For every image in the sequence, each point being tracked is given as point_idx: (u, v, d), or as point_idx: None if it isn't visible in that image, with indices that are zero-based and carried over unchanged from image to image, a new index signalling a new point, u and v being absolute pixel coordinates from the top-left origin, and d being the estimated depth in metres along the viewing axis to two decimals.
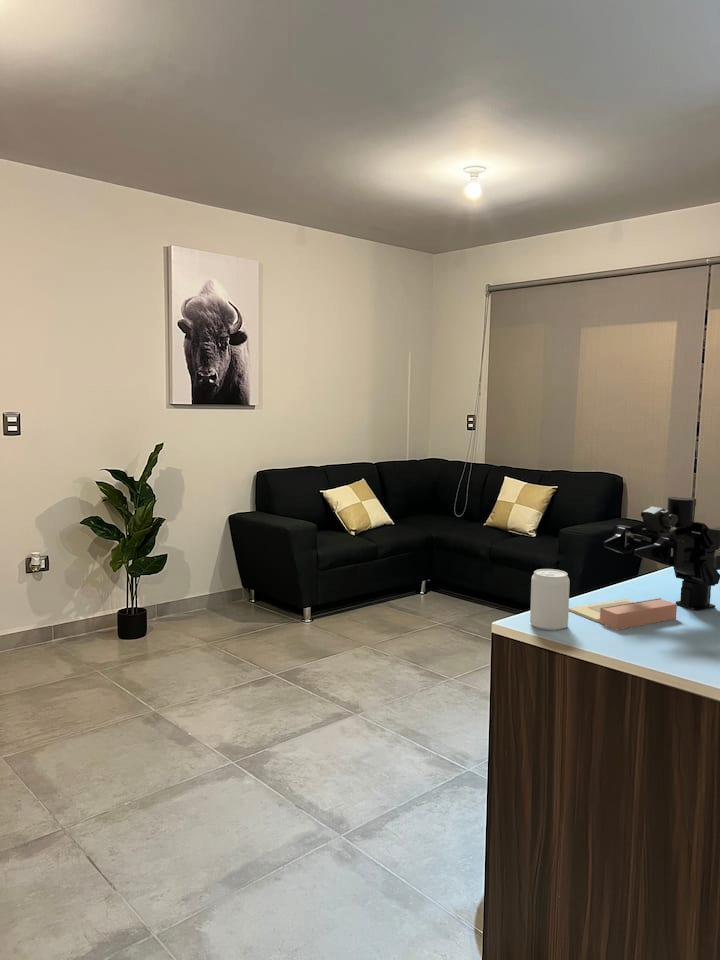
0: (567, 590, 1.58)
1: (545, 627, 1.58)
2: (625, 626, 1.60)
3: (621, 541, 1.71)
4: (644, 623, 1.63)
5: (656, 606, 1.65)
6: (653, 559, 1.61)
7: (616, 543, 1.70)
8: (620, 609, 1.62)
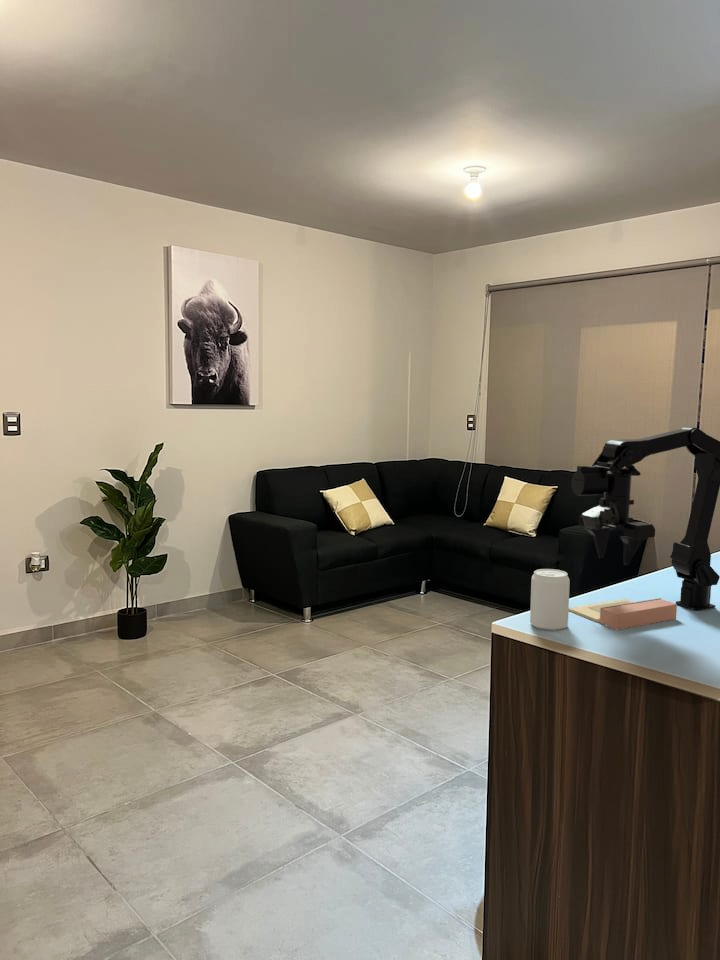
0: (567, 590, 1.58)
1: (545, 627, 1.58)
2: (625, 626, 1.60)
3: (600, 534, 1.74)
4: (644, 623, 1.63)
5: (656, 606, 1.65)
6: (637, 547, 1.66)
7: (602, 541, 1.74)
8: (620, 609, 1.62)
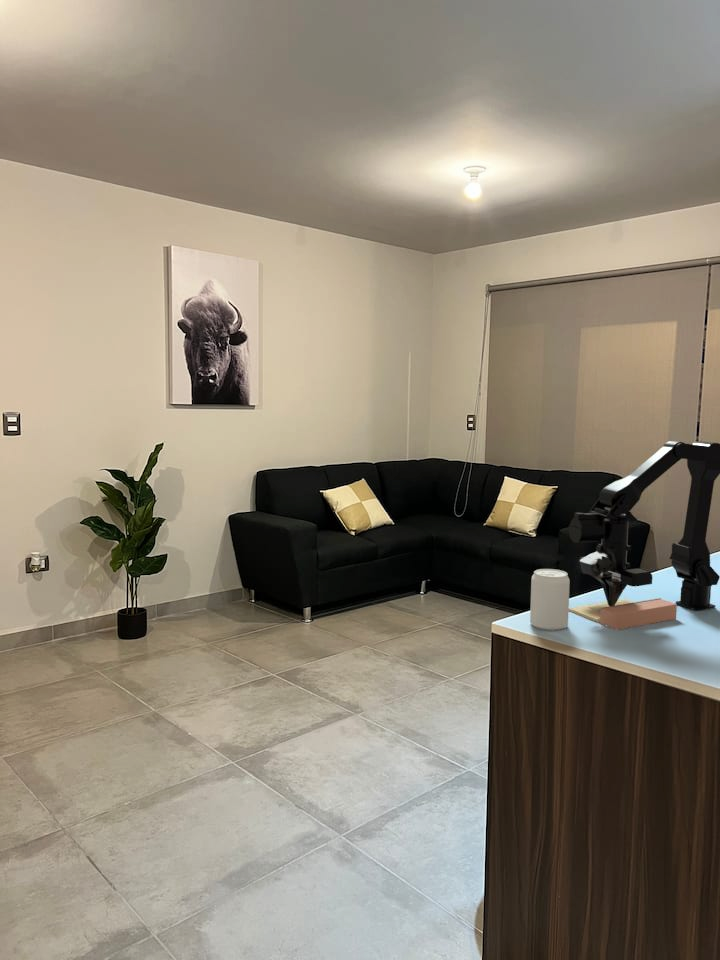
0: (567, 590, 1.58)
1: (545, 627, 1.58)
2: (625, 626, 1.60)
3: None
4: (644, 623, 1.63)
5: (656, 606, 1.65)
6: (622, 589, 1.71)
7: None
8: (620, 609, 1.62)
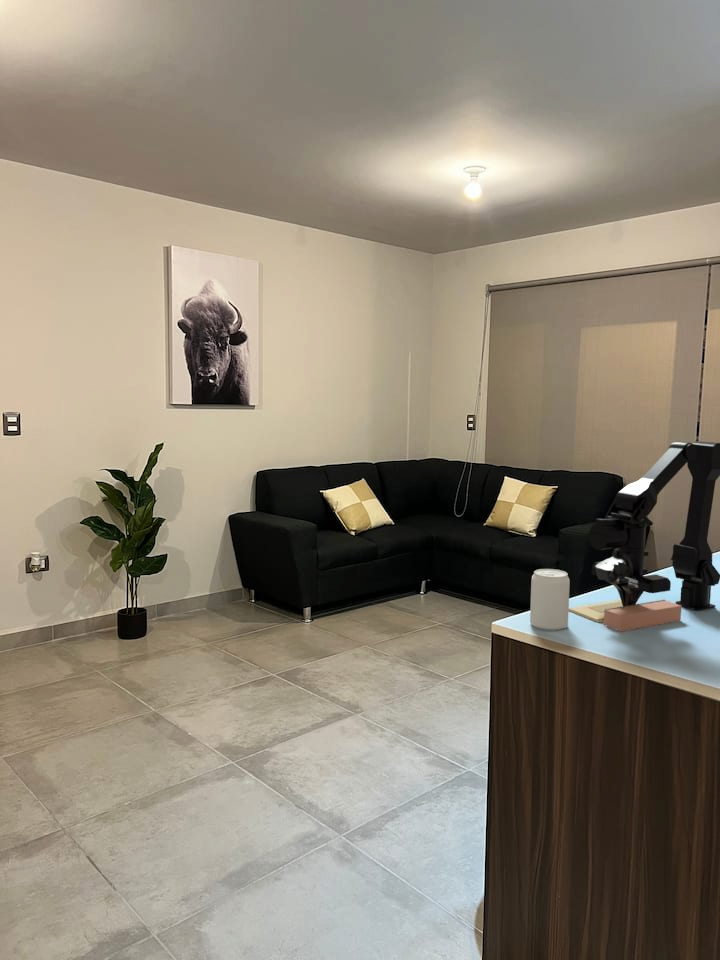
0: (567, 590, 1.58)
1: (545, 627, 1.58)
2: (629, 628, 1.59)
3: None
4: (648, 625, 1.62)
5: (661, 607, 1.64)
6: (639, 596, 1.66)
7: None
8: (624, 611, 1.61)
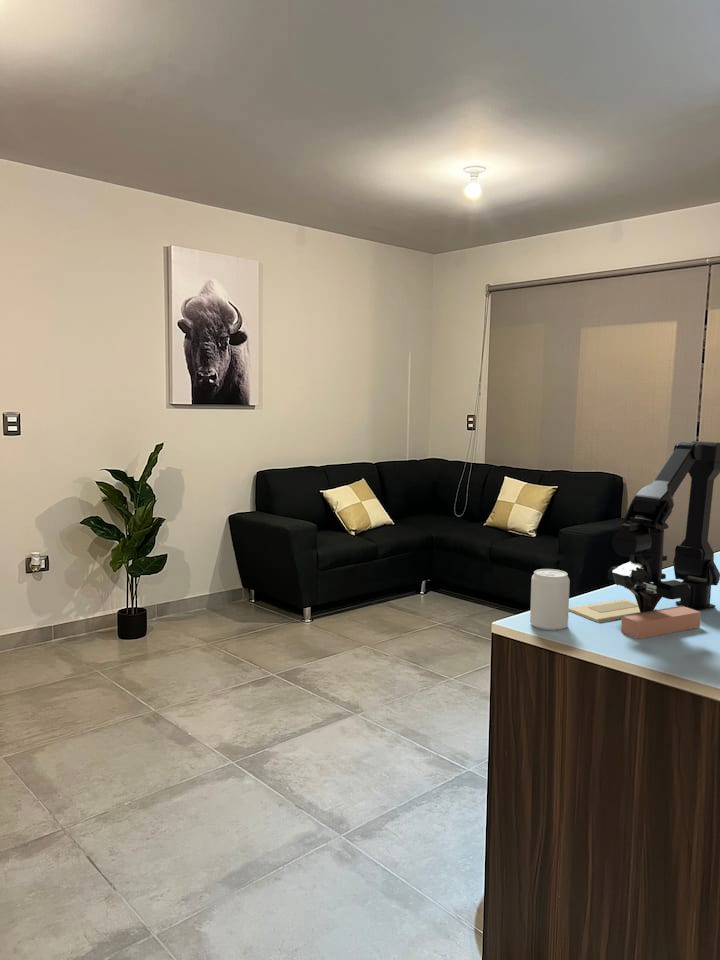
0: (567, 590, 1.58)
1: (545, 627, 1.58)
2: (648, 635, 1.55)
3: None
4: (667, 632, 1.57)
5: (680, 614, 1.59)
6: (657, 602, 1.61)
7: None
8: (642, 617, 1.56)
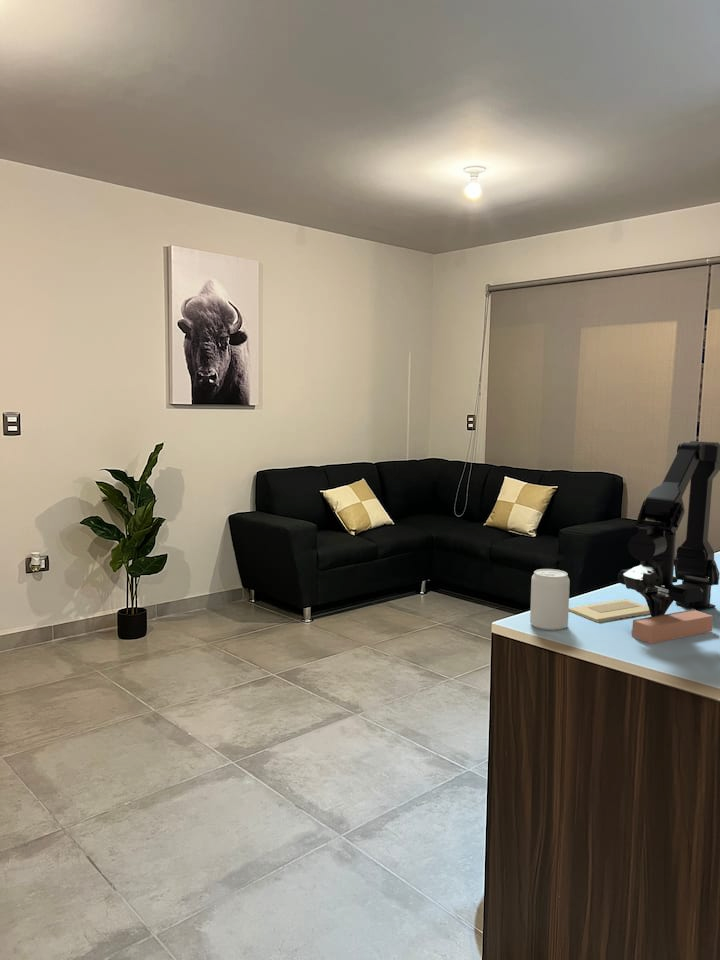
0: (567, 590, 1.58)
1: (545, 627, 1.58)
2: (659, 639, 1.52)
3: None
4: (679, 636, 1.54)
5: (691, 618, 1.56)
6: (668, 606, 1.59)
7: None
8: (654, 622, 1.54)
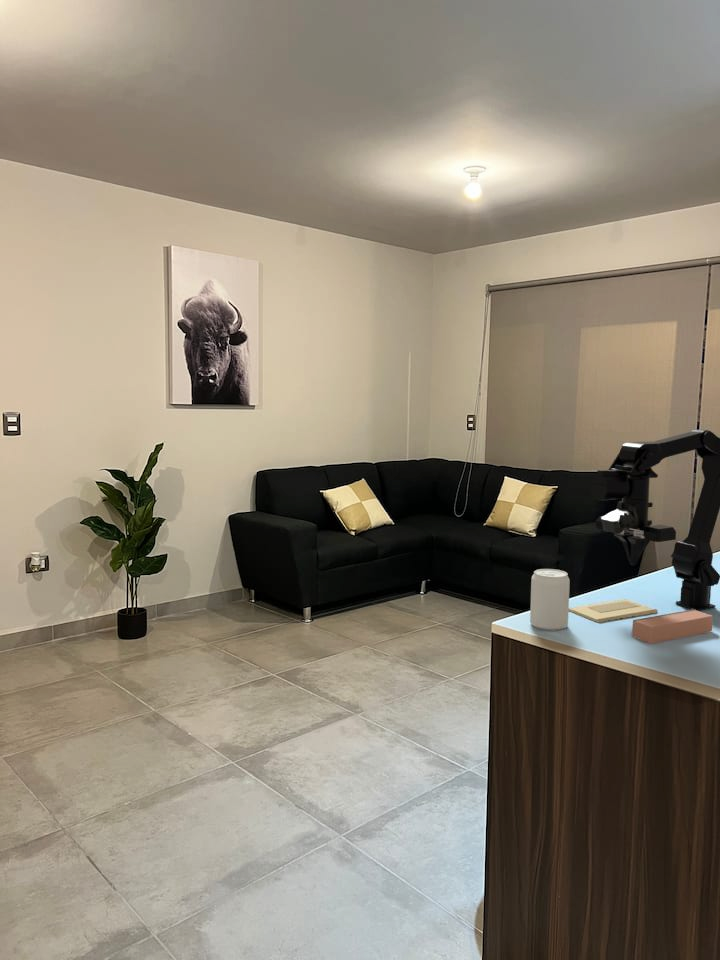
0: (567, 590, 1.58)
1: (545, 627, 1.58)
2: (659, 639, 1.52)
3: None
4: (679, 636, 1.54)
5: (691, 618, 1.56)
6: (644, 547, 1.68)
7: None
8: (654, 622, 1.54)
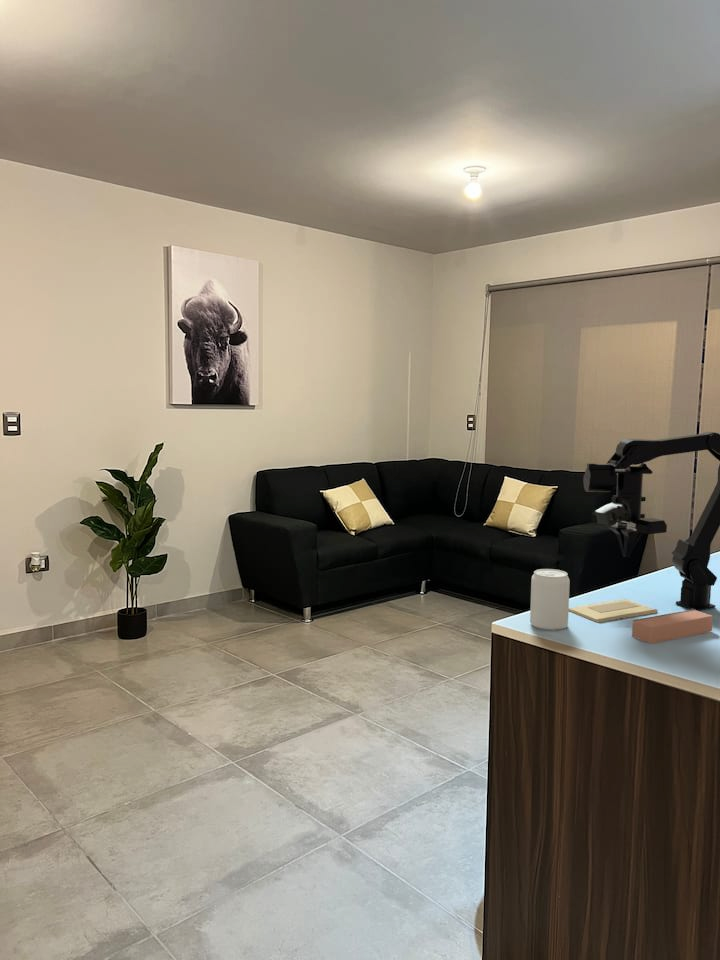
0: (567, 590, 1.58)
1: (545, 627, 1.58)
2: (659, 639, 1.52)
3: None
4: (679, 636, 1.54)
5: (691, 618, 1.56)
6: (637, 540, 1.75)
7: None
8: (654, 622, 1.54)
